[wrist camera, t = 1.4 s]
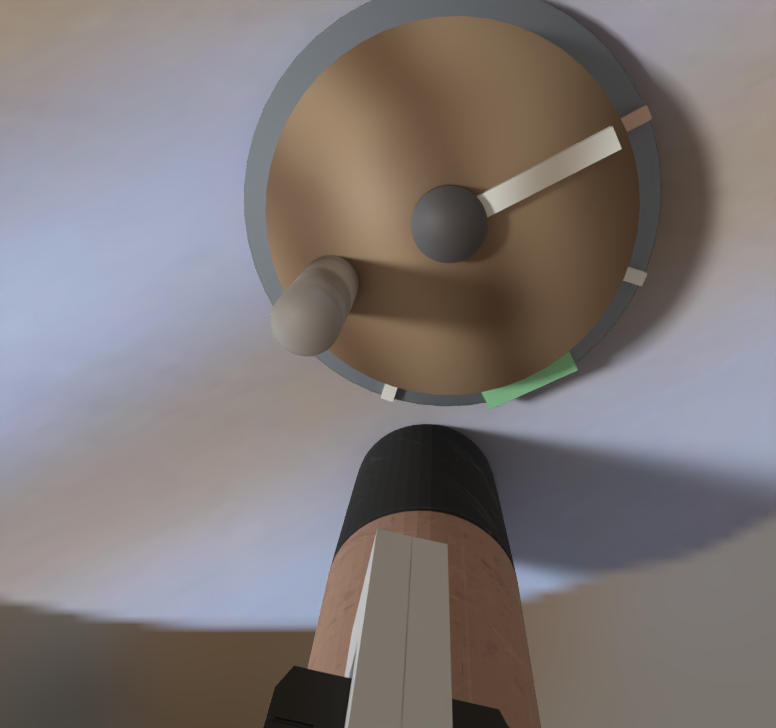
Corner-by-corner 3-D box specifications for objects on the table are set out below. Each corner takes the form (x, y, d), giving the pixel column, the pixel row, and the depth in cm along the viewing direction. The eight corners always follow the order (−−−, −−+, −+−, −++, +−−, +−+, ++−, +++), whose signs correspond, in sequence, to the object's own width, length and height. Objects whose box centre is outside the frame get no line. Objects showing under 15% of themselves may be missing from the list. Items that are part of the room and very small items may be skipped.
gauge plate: (263, -39, 28) (253, -49, 26) (702, 17, 28) (718, 11, 26) (241, 369, 34) (231, 381, 32) (600, 420, 34) (608, 435, 32)
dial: (377, 428, 33) (359, 518, 25) (211, 139, 29) (132, 145, 22) (678, 290, 30) (760, 347, 22) (538, -55, 26) (580, -128, 18)
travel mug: (499, 416, 34) (576, 779, 15) (500, 547, 37) (567, 998, 18) (346, 420, 35) (240, 773, 16) (357, 548, 37) (277, 985, 18)
